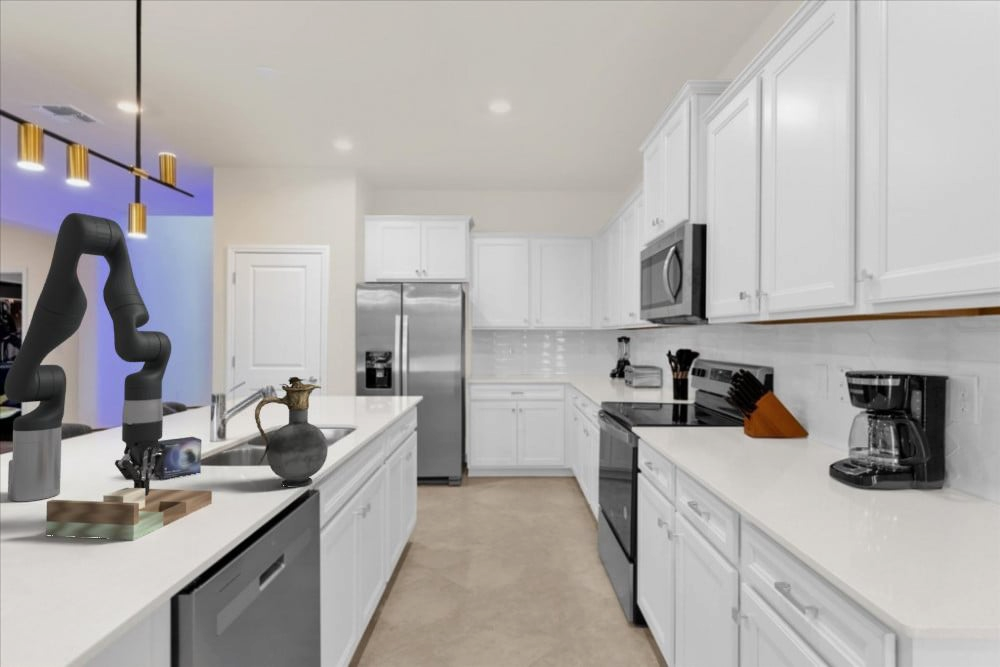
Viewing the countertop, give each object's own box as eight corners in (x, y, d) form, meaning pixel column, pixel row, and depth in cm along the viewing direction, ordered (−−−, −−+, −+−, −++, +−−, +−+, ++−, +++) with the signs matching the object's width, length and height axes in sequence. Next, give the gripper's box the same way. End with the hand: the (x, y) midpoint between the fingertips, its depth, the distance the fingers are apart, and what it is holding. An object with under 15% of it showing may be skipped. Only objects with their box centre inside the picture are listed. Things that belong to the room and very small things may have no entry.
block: (102, 514, 109) (103, 495, 109) (125, 505, 115) (126, 487, 115) (122, 515, 109) (123, 496, 109) (144, 506, 115) (145, 488, 115)
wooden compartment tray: (45, 536, 105) (46, 501, 105) (139, 500, 129) (139, 472, 129) (133, 540, 103) (134, 504, 103) (211, 503, 127) (212, 474, 127)
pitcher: (331, 484, 145) (333, 376, 145) (257, 495, 134) (259, 378, 134) (320, 475, 154) (321, 374, 154) (249, 485, 143) (251, 376, 143)
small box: (162, 480, 147) (162, 443, 147) (153, 477, 151) (153, 441, 151) (201, 473, 155) (202, 438, 156) (192, 470, 159) (192, 436, 160)
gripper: (149, 414, 124) (148, 487, 124) (102, 423, 111) (101, 504, 111) (179, 415, 123) (177, 488, 123) (135, 424, 110) (134, 506, 110)
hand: (141, 496), depth 117 cm, fingers closed
